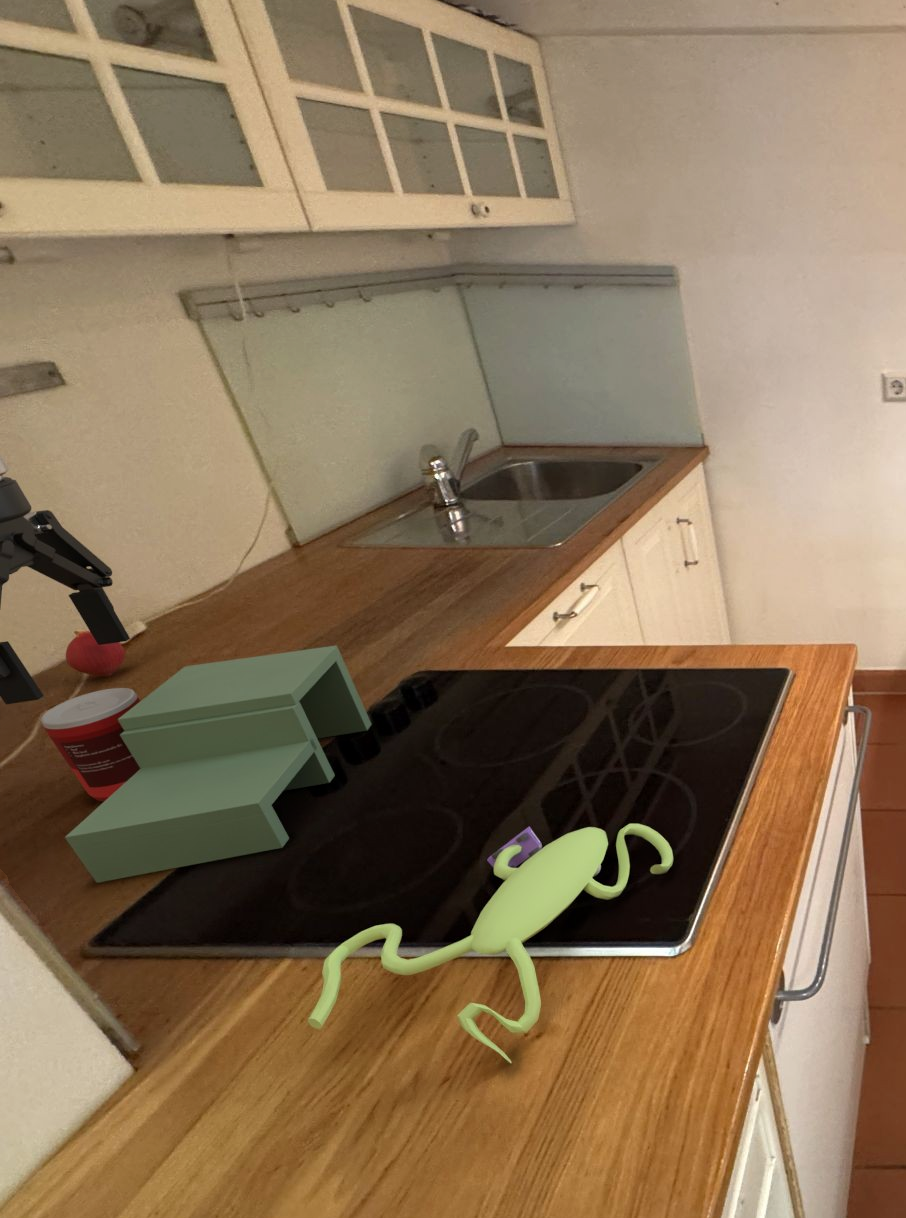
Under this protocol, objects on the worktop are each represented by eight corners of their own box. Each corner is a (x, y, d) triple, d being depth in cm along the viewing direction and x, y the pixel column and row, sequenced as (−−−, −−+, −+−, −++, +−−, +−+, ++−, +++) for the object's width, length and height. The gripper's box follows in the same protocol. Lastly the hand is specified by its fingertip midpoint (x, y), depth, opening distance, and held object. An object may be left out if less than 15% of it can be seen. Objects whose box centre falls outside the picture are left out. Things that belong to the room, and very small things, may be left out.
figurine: (294, 1043, 60) (264, 995, 58) (547, 819, 83) (533, 777, 81) (479, 1107, 55) (454, 1057, 53) (694, 849, 78) (683, 806, 76)
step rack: (96, 883, 77) (29, 787, 72) (229, 747, 98) (184, 666, 92) (282, 847, 81) (231, 754, 75) (372, 724, 101) (337, 645, 96)
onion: (125, 663, 120) (98, 617, 116) (142, 670, 117) (115, 624, 114) (74, 681, 115) (44, 634, 111) (90, 689, 113) (61, 641, 109)
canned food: (155, 757, 96) (110, 682, 91) (195, 769, 94) (151, 692, 89) (75, 796, 90) (22, 717, 85) (116, 809, 87) (63, 729, 82)
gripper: (-113, 517, 66) (27, 722, 75) (91, 451, 88) (181, 616, 97) (-228, 528, 64) (-70, 737, 73) (9, 458, 86) (108, 626, 95)
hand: (73, 669), depth 85 cm, fingers open, 13 cm apart
